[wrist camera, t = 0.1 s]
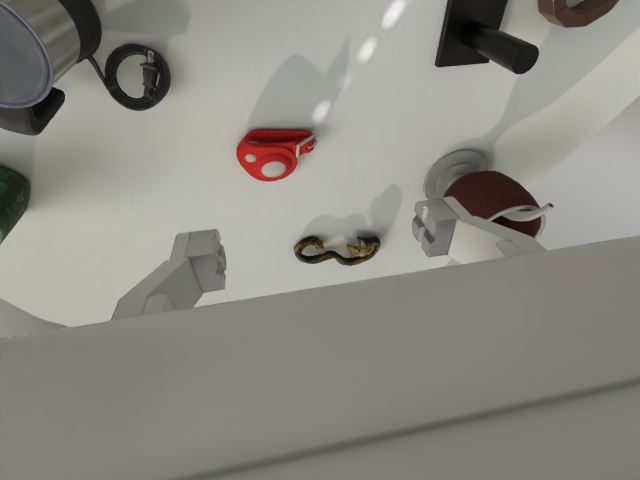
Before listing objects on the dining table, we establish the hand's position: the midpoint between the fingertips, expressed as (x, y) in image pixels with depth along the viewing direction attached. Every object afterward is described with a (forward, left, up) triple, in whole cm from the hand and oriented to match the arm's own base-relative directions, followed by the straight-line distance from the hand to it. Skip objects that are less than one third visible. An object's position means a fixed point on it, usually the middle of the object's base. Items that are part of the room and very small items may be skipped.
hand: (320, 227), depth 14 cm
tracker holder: (+18, 0, -39) cm, 43 cm away
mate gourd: (+27, +33, -39) cm, 58 cm away
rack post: (+3, +28, -39) cm, 48 cm away
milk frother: (+1, -20, -39) cm, 44 cm away
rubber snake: (+41, +10, -39) cm, 57 cm away
